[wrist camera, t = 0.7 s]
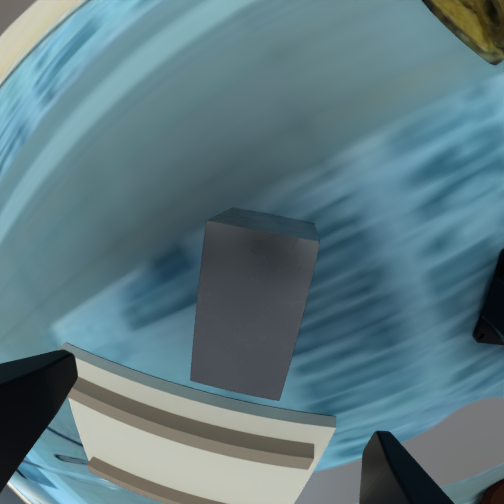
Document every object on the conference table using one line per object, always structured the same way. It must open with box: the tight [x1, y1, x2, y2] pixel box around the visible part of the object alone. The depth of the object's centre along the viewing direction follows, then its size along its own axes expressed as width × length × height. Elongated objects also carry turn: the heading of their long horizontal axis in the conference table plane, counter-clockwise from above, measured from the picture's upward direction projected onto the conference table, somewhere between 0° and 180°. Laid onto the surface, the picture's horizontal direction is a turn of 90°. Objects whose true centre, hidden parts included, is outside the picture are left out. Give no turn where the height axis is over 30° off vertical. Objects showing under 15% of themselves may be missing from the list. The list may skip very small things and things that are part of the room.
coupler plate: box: [58, 343, 336, 504], centre depth 21 cm, size 22×18×3 cm
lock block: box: [190, 208, 320, 401], centre depth 15 cm, size 4×8×5 cm, turn 170°
